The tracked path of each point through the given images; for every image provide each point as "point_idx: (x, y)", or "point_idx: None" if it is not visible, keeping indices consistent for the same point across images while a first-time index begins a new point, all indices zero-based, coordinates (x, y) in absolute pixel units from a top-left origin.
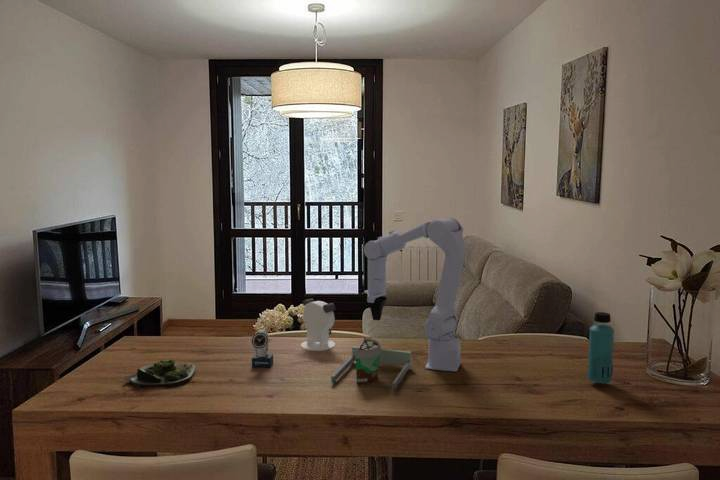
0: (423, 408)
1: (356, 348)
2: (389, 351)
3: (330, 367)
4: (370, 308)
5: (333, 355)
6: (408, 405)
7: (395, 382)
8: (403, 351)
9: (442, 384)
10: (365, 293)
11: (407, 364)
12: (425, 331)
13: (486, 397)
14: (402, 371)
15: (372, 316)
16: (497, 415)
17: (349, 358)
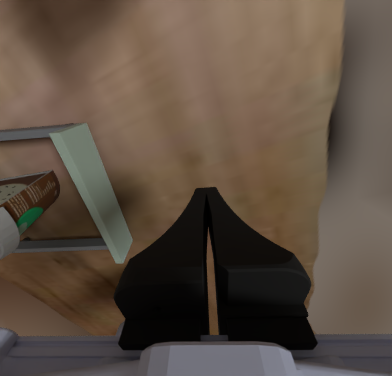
0: (15, 273)
1: (58, 148)
2: (100, 229)
3: (8, 71)
4: (173, 224)
5: (102, 18)
6: (5, 260)
7: (14, 252)
8: (115, 252)
9: (100, 276)
10: (144, 356)
11: (102, 248)
12: (120, 329)
13: (96, 306)
14: (65, 250)
15: (193, 195)
16: (63, 314)
17: (40, 130)
